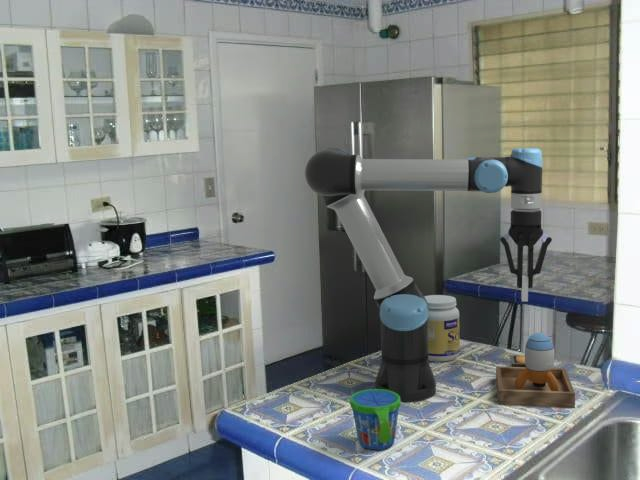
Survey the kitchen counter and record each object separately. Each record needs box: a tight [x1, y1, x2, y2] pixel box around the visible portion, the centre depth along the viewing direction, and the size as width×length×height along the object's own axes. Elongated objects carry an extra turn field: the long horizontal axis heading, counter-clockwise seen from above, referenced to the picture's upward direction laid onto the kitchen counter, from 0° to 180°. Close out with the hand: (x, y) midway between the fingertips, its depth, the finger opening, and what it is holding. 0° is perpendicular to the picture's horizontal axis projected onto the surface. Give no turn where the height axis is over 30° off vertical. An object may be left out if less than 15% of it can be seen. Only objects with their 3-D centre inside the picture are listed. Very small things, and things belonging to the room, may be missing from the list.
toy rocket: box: [515, 332, 559, 391], centre depth 170 cm, size 10×11×15 cm
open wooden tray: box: [495, 365, 576, 409], centre depth 171 cm, size 17×17×4 cm
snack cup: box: [349, 388, 402, 451], centre depth 147 cm, size 16×10×10 cm
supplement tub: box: [424, 294, 461, 363], centre depth 200 cm, size 12×12×17 cm
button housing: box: [509, 354, 526, 367], centre depth 184 cm, size 7×7×4 cm
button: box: [516, 354, 525, 363], centre depth 184 cm, size 5×5×2 cm
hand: (524, 300), depth 181 cm, fingers closed
